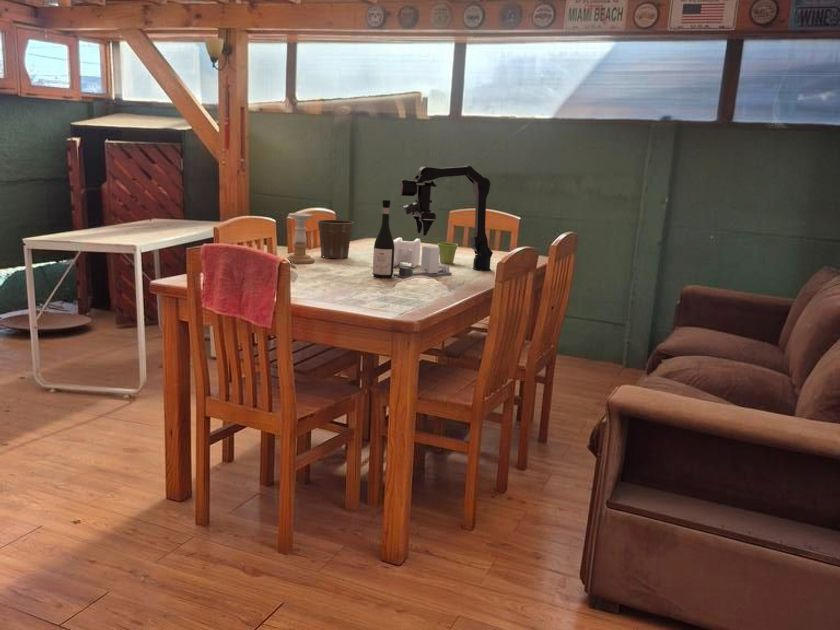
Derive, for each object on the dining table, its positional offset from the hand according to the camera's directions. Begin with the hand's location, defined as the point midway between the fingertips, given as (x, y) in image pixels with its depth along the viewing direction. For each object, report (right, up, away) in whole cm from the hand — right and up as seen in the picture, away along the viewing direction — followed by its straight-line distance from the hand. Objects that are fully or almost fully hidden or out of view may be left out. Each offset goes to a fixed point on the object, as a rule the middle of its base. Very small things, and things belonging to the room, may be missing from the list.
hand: (421, 234), depth 306 cm
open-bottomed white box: (+3, -17, -11) cm, 20 cm away
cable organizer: (-7, -13, +9) cm, 17 cm away
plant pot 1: (-40, -8, +21) cm, 46 cm away
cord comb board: (+1, -18, -13) cm, 22 cm away
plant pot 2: (+11, -11, +24) cm, 29 cm away
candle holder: (-52, -12, +2) cm, 53 cm away
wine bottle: (-15, -19, -22) cm, 33 cm away
